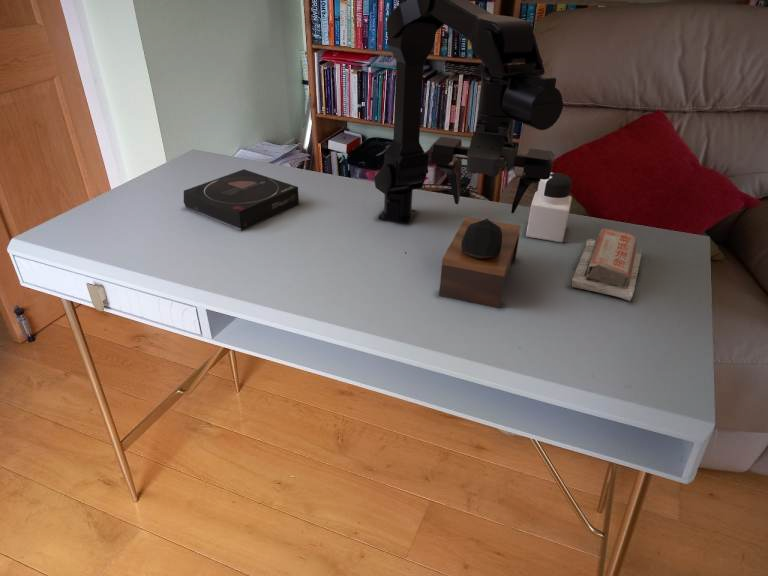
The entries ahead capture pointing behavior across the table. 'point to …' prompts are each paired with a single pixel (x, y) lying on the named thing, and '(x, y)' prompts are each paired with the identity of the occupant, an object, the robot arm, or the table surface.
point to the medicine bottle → (550, 208)
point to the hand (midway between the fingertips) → (484, 207)
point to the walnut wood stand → (478, 268)
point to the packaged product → (609, 264)
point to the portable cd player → (241, 198)
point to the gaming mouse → (482, 239)
